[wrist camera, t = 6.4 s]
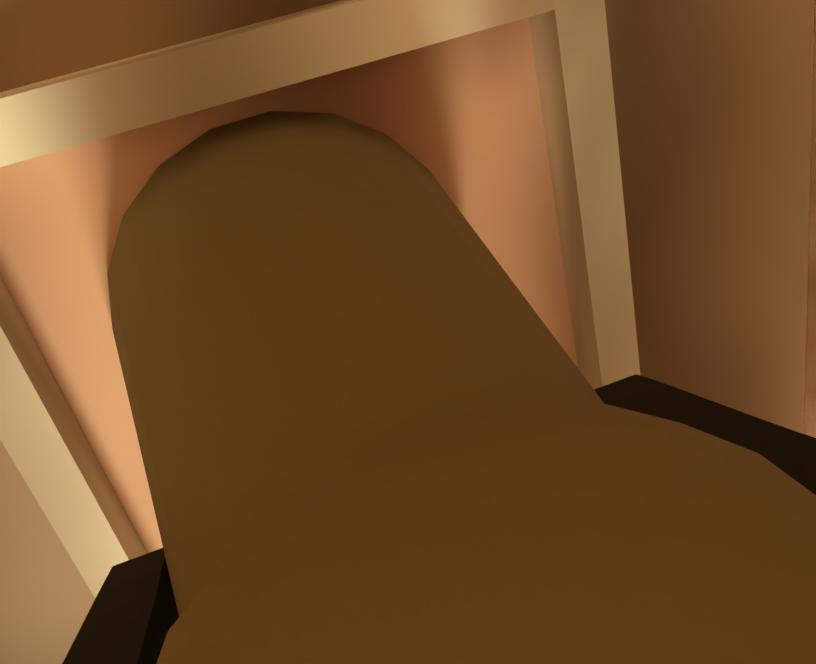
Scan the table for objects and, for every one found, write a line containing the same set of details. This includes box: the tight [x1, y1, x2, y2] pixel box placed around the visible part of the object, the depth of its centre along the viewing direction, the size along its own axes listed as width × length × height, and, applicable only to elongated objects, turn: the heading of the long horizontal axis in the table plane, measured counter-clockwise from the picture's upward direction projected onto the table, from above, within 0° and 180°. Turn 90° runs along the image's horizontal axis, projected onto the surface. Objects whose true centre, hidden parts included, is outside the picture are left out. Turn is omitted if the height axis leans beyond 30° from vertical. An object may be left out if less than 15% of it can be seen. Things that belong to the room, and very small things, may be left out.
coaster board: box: [0, 0, 815, 664], centre depth 14 cm, size 20×20×2 cm
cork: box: [107, 111, 816, 664], centre depth 8 cm, size 6×6×11 cm
